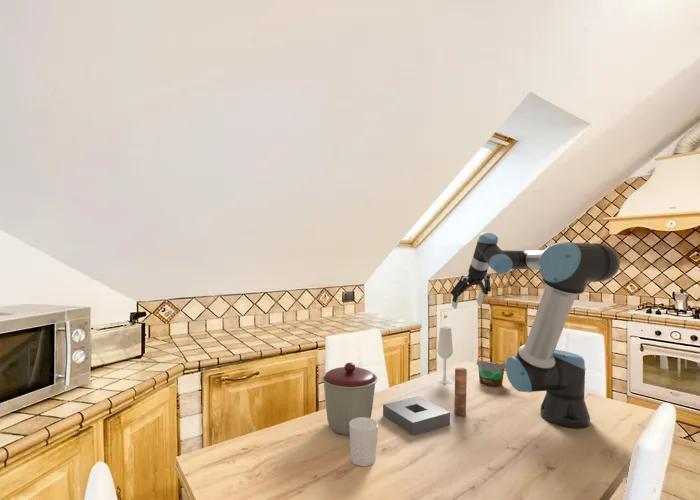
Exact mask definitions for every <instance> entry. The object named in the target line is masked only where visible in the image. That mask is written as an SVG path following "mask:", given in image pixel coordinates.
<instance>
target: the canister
mask: <svg viewBox="0 0 700 500" xmlns="http://www.w3.org/2000/svg"><path fill="white" fill-rule="evenodd" d="M321 380H322V382H323V387H324V390H323V391H324V399H325V401H324V402H325V411H326V418H327V423H328V426H329V427H330V430H332V431H333V432H334V433H336V434H339V435H344V436H350V430H349V423H350V421H351V420H352V419H355V418H360V417H366V418H371V419H372V414H373V413H372V412H373V411H372V410H373V406H374V397H375V389H376V383H377V382H378V380H379V379H378V376H377V375H376V374H375V373H373V372H372V371H370V370H368V369H366V368H362V367H358V366H356V365H355V364H354V363H353V362H346V363H345V365H344V366H342V367H336V368H332V369H330V370H328V371H327V372H325V373H323V374H322V375H321Z"/></svg>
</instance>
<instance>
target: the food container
mask: <svg viewBox="0 0 700 500" xmlns="http://www.w3.org/2000/svg"><path fill="white" fill-rule="evenodd" d="M476 365H477V367H478V377H479V383H480V384H481V385H483V386H485V387H489V388H500V387H502V386H503V380H504V373H505V369H506V362H503V363H498V362H494V361H485V360H479V359H477V360H476Z"/></svg>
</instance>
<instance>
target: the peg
mask: <svg viewBox="0 0 700 500" xmlns="http://www.w3.org/2000/svg"><path fill="white" fill-rule="evenodd" d="M467 373H468V370H467V368H464V367H455V368H454V402H453V403H454V406H453V407H454V409H453V411H454V412H453V413H454V415H455V416H456V417H460V418H462V417H463V418H465V417H466V416H467V380H468V379H467V375H468V374H467Z"/></svg>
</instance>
